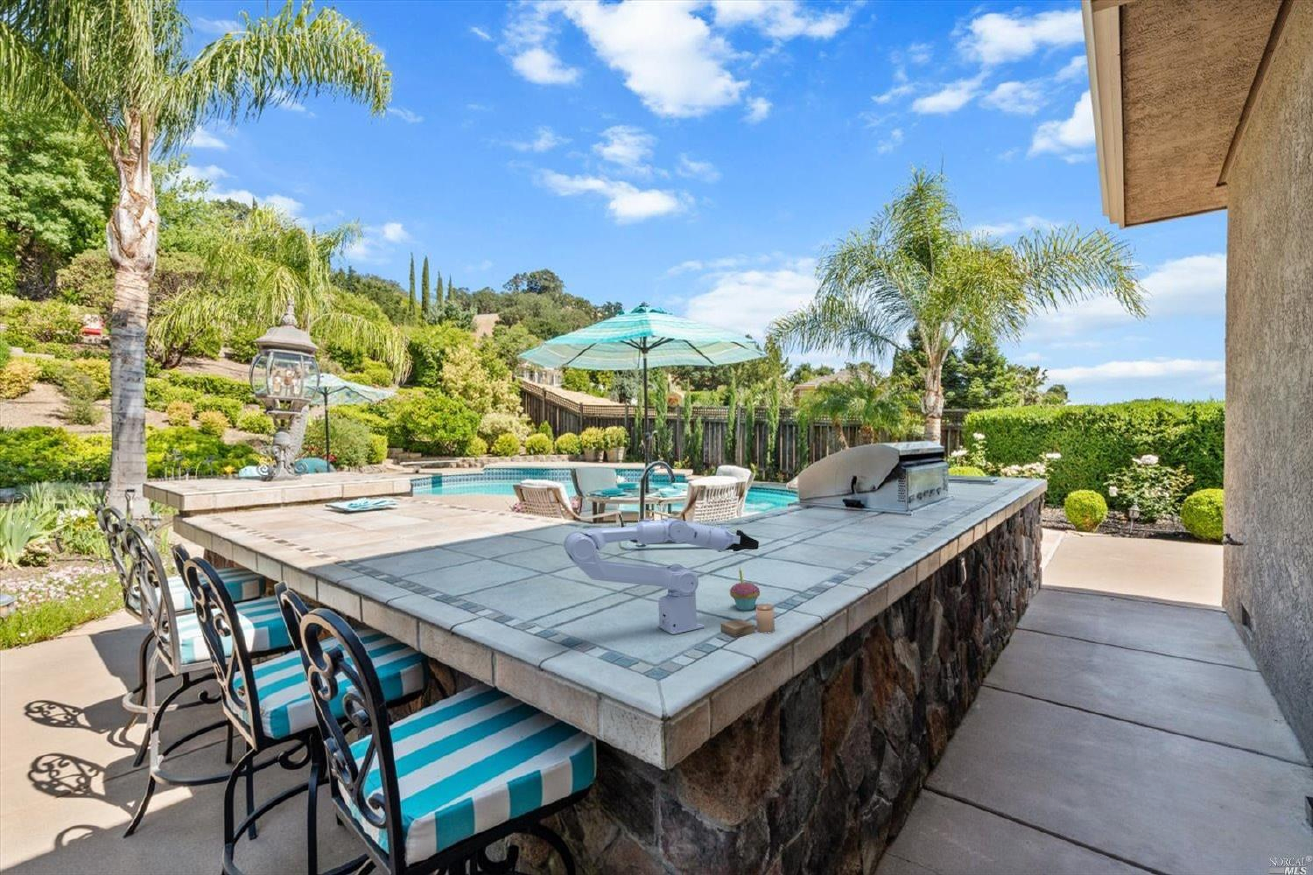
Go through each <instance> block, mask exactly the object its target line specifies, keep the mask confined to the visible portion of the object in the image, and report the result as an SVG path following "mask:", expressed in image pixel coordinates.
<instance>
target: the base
mask: <svg viewBox="0 0 1313 875" xmlns="http://www.w3.org/2000/svg"><path fill="white" fill-rule="evenodd" d="M720 632H722V633H724V634H726V635H729V636H731V637H733V638H734V639H735V638H740V637H743V636H748V635H752V634H754V633H756V630H755V623H754V624H753V623H751V622H749V621H747V620H744V619H741V618H737V619H734V620H733V619H732V620H729V621H724V622H720Z"/></svg>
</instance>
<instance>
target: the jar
mask: <svg viewBox="0 0 1313 875" xmlns="http://www.w3.org/2000/svg"><path fill="white" fill-rule="evenodd" d="M755 615H756V616H755V617H756V630H757V632H759V633H761V632H771V633H774V632H775V631H776V629H775V628H776V626H775V624H776V623H775V608H774V606H773V605H772V604H768V603H760V604H757V605H756V608H755ZM773 631H774V632H773Z"/></svg>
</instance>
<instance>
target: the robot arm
mask: <svg viewBox="0 0 1313 875" xmlns="http://www.w3.org/2000/svg"><path fill="white" fill-rule="evenodd" d="M625 541H626V542H627V541H637V542H638V543H639V544H640V545H647V544H656V543H657V544H658V543H665V542H668V541H671V542H674V543H676V544H682V543H685V544H688V545H691V546H697V547H700V548H706V549H711V550H716V551H717V552H718V553H721V552H725V551H732V552H740V551H745V550H750V551H752V550H754V551H755V550H758V549H759V545H760V542H759V540H757V539H755V538H752V537H750V536H749V535H747V534H746V533H745V532H744V531H743V530H740V529H736V533H735V534H733V533H731V532H730V531H729V530H728V529H727V525H726V524H721V525H720V527H715V526H710V525H706V524H701V523H696V522H689V521H685V520H682V519H681V520H680V519H677V518H673V517H662V519H659V520H657V519H656V520H651V519H650V518H644V519H643V520H642V521H638V523H637V524H636V525H634V526H626V527H625V526H624V527H622V526H621V527H601V528H600V527H599V528H589V529H584V530H582V531H577V530H575V531H572V532H570V533H569V534H567V536H566V537H565V538H564V541H563V542H564V543H563V547H564V550H565V553H566V554H567V556H568V558H569V559H570V560H571V561H572V562H573V563H574V564H575V565H576V566H577V567H578V568H579V570H581V571H582V572H583V573H584V574H586V576H587V577H589V578H590V579H591V580H593V581H599V582H600V581H602V582H611V583H623V584H633V585H640V586H641V585H642V586H651V587H652V586H654V587H660V588H664V589H667V593H666V594H665V595H663V596H660V598H659V599H658V622H659V624H658V625H657V626H658V628H660V629H662V630H664V631H665V632H667V633H669V634H671V635H677V634H681V633H682V634H683V633H685V632H690V631H693V630H698V629H699V630H700V629H702V628H704V627H705V626H704V624H702V623H699V621H698V616H697V615H698V613H697V597H696V596H697V595H696V590H697V589H698V588H699V587H698V586H699V576H698V575H697V573H696V572H694V571H693V570H691V569H688V568H686V567H684V566H683V565H681V564H679V563H672V564H669V565H668V566H667V565H660V566H655V565H654V566H653V565H644V564H643V565H642V564H634V563H625V562H615V561H607V560H602V559H601V557H600V556H599V553H598V551H601V550H602V549H603V548H604V547H605V546H606V545H607V544H610V543H618V542H625Z"/></svg>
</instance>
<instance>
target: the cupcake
mask: <svg viewBox="0 0 1313 875" xmlns="http://www.w3.org/2000/svg"><path fill="white" fill-rule="evenodd" d="M738 568H739V570H738V573H739V582H738V583H735V584H734V585H732V586H731V588H730V589H729V595H730V597H731V598H733V600H734V602H735V605H736V607H737V609H738V610H741V611H751V610H753V609H755V605H756V602H757V599H758V598H759V596H761V594H760V593H761V592H760V588H759V587H758V586H757V585H755V584H754V583H752V582H747V581H746V582H744V579H743V572H742V569H741V567H738Z"/></svg>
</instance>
